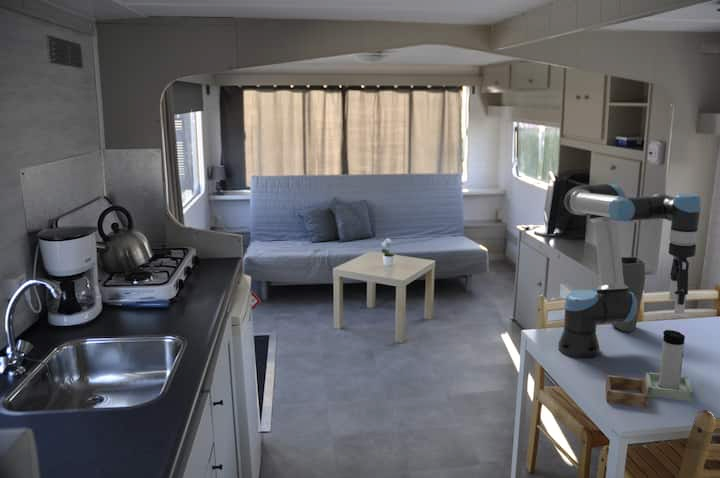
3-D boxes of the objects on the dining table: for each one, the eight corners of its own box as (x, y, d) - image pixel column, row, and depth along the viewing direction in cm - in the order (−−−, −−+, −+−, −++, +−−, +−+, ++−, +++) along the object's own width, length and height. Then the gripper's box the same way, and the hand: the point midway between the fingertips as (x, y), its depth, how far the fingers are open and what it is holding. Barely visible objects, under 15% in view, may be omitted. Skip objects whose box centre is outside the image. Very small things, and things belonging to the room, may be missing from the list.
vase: (634, 323, 261) (640, 256, 254) (644, 334, 249) (650, 264, 242) (605, 322, 263) (610, 256, 256) (613, 333, 251) (618, 263, 244)
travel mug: (653, 383, 205) (659, 328, 200) (672, 382, 206) (678, 327, 201) (664, 392, 199) (670, 336, 194) (683, 391, 200) (689, 334, 195)
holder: (606, 402, 196) (607, 390, 195) (605, 385, 207) (606, 374, 206) (647, 407, 192) (648, 396, 191) (643, 390, 203) (644, 379, 202)
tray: (648, 395, 199) (649, 387, 199) (644, 379, 210) (645, 371, 210) (692, 401, 195) (693, 393, 194) (686, 384, 206) (687, 376, 205)
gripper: (703, 253, 178) (695, 320, 183) (690, 234, 201) (683, 295, 206) (674, 251, 181) (668, 318, 186) (665, 233, 204) (659, 293, 209)
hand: (676, 306), depth 196 cm, fingers open, 13 cm apart
